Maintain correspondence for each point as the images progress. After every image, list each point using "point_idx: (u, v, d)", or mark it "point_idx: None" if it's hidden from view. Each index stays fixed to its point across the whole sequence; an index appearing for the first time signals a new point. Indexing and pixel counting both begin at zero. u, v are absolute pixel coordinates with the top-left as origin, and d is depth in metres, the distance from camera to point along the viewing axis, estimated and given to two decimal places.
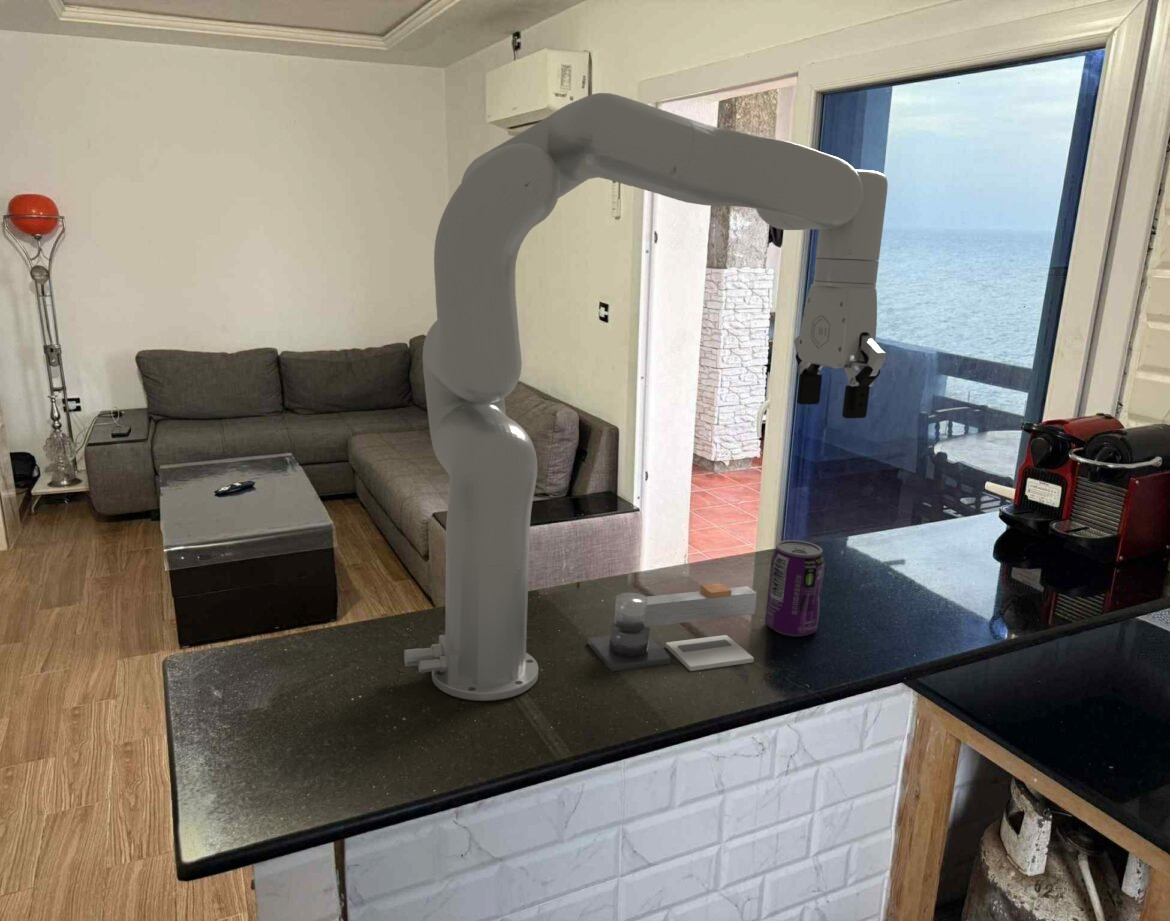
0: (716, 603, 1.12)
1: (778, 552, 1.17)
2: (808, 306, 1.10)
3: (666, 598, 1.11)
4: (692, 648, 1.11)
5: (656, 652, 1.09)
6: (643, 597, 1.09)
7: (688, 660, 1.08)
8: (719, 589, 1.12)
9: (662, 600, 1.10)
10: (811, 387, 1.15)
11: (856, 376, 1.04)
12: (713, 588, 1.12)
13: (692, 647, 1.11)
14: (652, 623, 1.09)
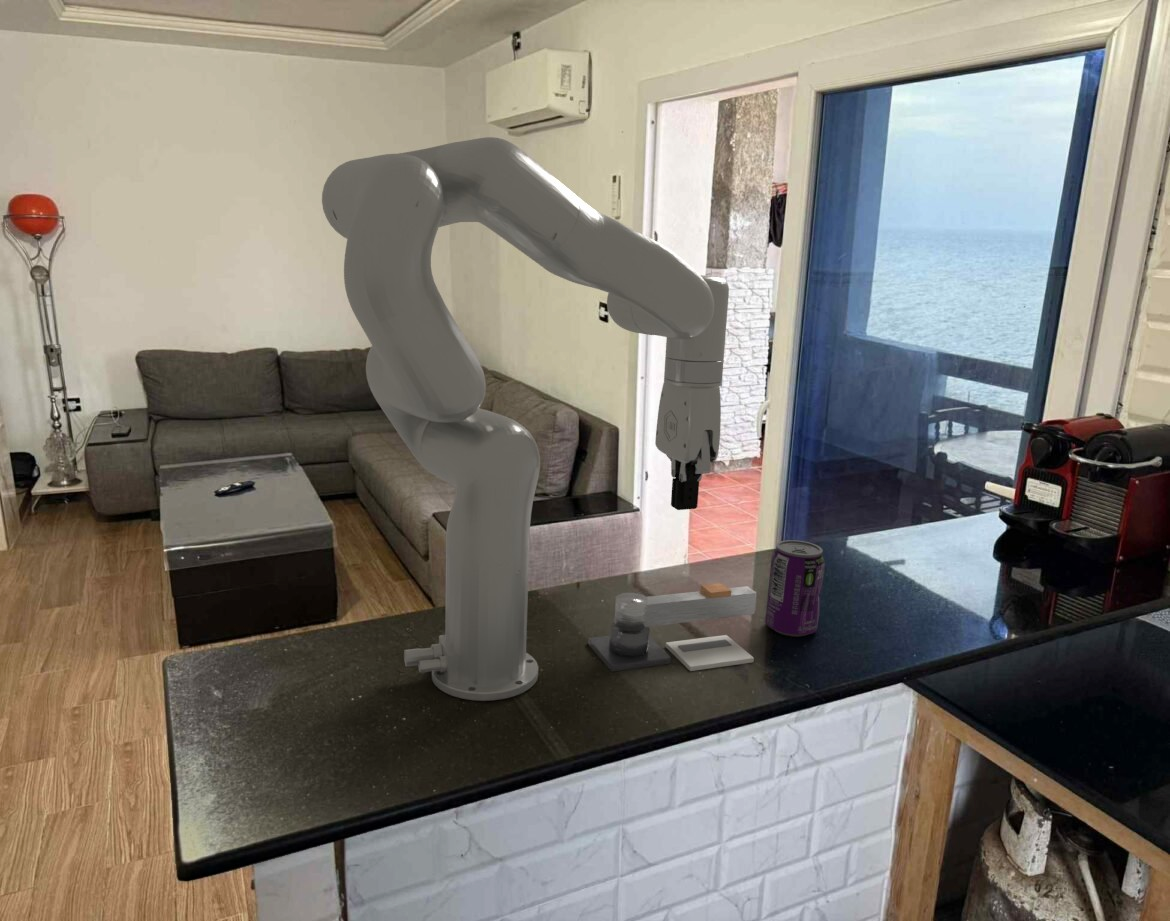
0: (716, 603, 1.12)
1: (778, 552, 1.17)
2: (662, 400, 1.15)
3: (666, 598, 1.11)
4: (692, 648, 1.11)
5: (656, 652, 1.09)
6: (643, 597, 1.09)
7: (688, 660, 1.08)
8: (719, 589, 1.12)
9: (662, 600, 1.10)
10: None
11: (684, 477, 1.13)
12: (713, 588, 1.12)
13: (692, 647, 1.11)
14: (652, 623, 1.09)
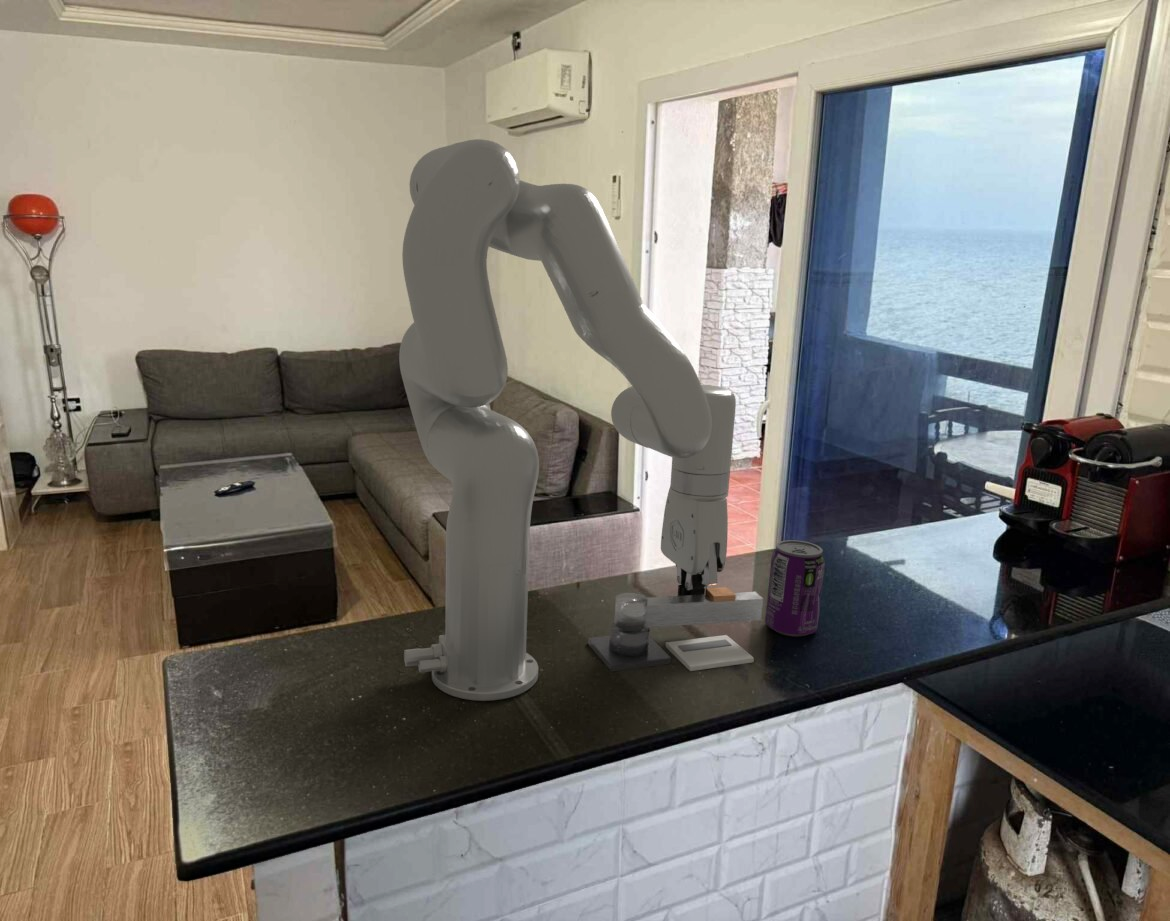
0: (720, 607, 1.11)
1: (778, 552, 1.17)
2: (667, 506, 1.15)
3: (668, 599, 1.10)
4: (692, 648, 1.11)
5: (656, 652, 1.09)
6: (644, 598, 1.09)
7: (688, 660, 1.08)
8: (723, 593, 1.11)
9: (663, 601, 1.09)
10: None
11: (691, 585, 1.13)
12: (717, 592, 1.11)
13: (692, 647, 1.11)
14: (652, 624, 1.09)
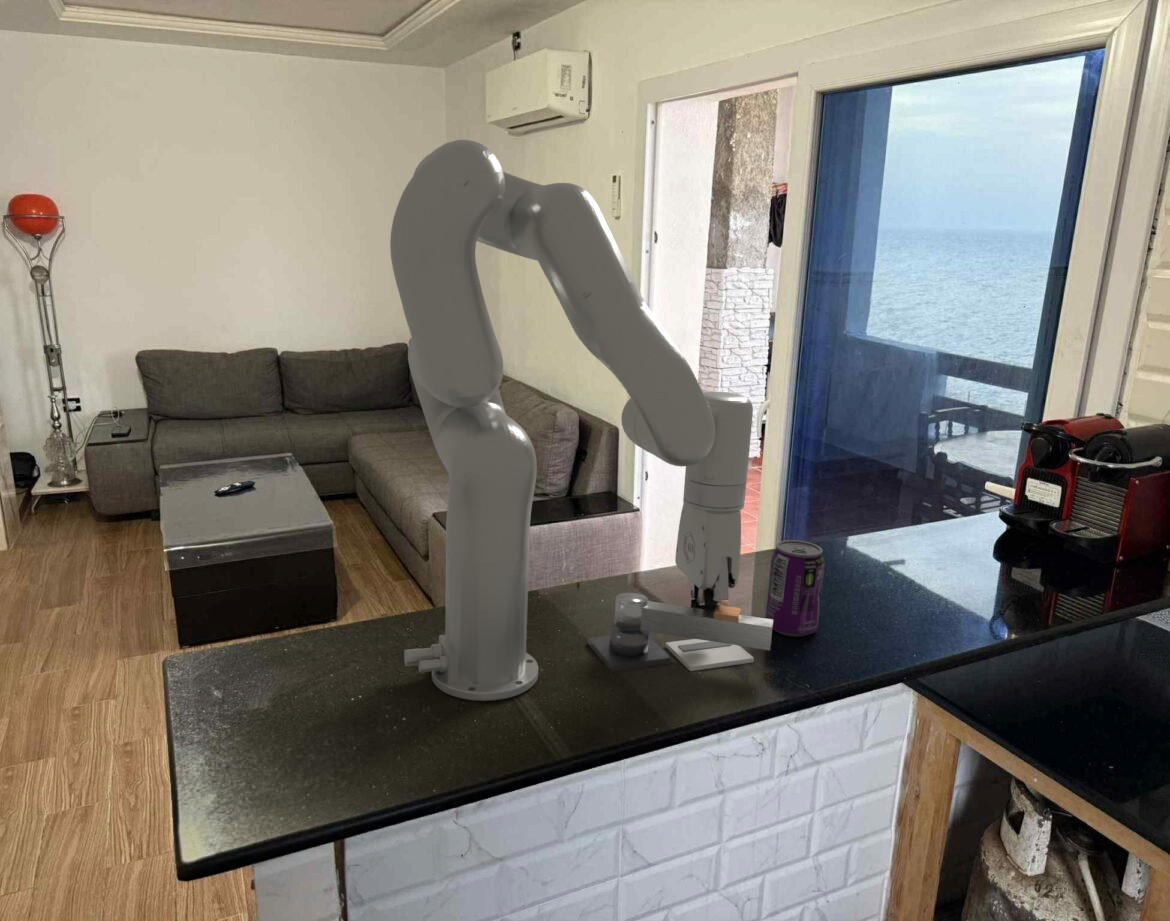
0: (722, 626, 1.05)
1: (778, 552, 1.17)
2: (682, 517, 1.10)
3: (670, 607, 1.08)
4: (692, 648, 1.11)
5: (656, 652, 1.09)
6: (644, 600, 1.08)
7: (688, 660, 1.08)
8: (726, 613, 1.05)
9: (663, 608, 1.07)
10: None
11: (702, 601, 1.08)
12: (722, 610, 1.05)
13: (692, 647, 1.11)
14: (648, 628, 1.08)
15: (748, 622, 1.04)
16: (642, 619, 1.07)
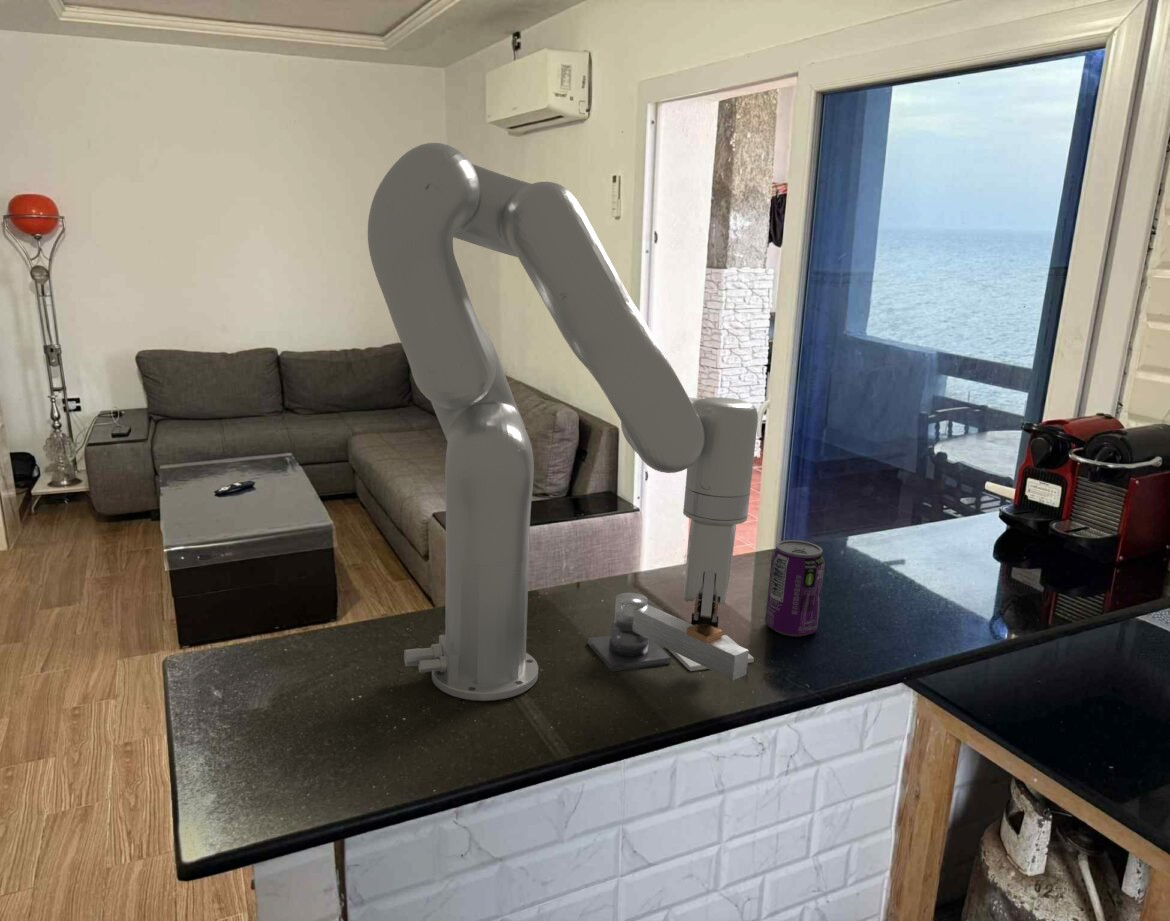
0: (694, 643, 1.00)
1: (778, 552, 1.17)
2: None
3: (660, 615, 1.05)
4: None
5: (656, 652, 1.09)
6: (640, 602, 1.07)
7: (688, 660, 1.08)
8: (700, 630, 0.99)
9: (653, 613, 1.06)
10: None
11: (695, 615, 1.03)
12: (699, 628, 1.00)
13: None
14: (637, 631, 1.07)
15: (717, 645, 0.98)
16: (633, 620, 1.07)
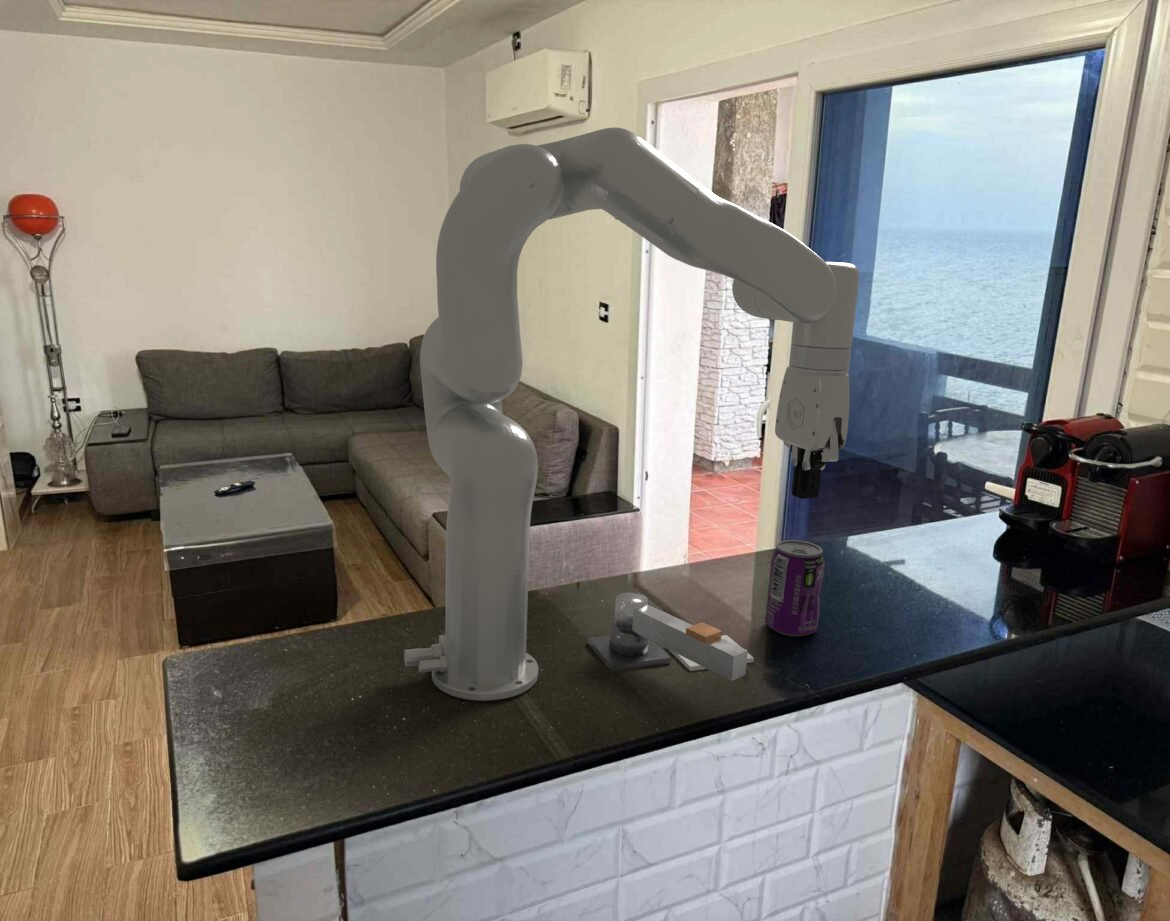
0: (693, 643, 1.00)
1: (778, 552, 1.17)
2: (784, 388, 1.14)
3: (660, 615, 1.05)
4: None
5: (656, 652, 1.09)
6: (640, 602, 1.07)
7: (688, 660, 1.08)
8: (699, 631, 0.99)
9: (652, 614, 1.05)
10: None
11: (809, 465, 1.12)
12: (698, 628, 1.00)
13: None
14: (637, 631, 1.07)
15: (716, 645, 0.98)
16: (633, 620, 1.07)
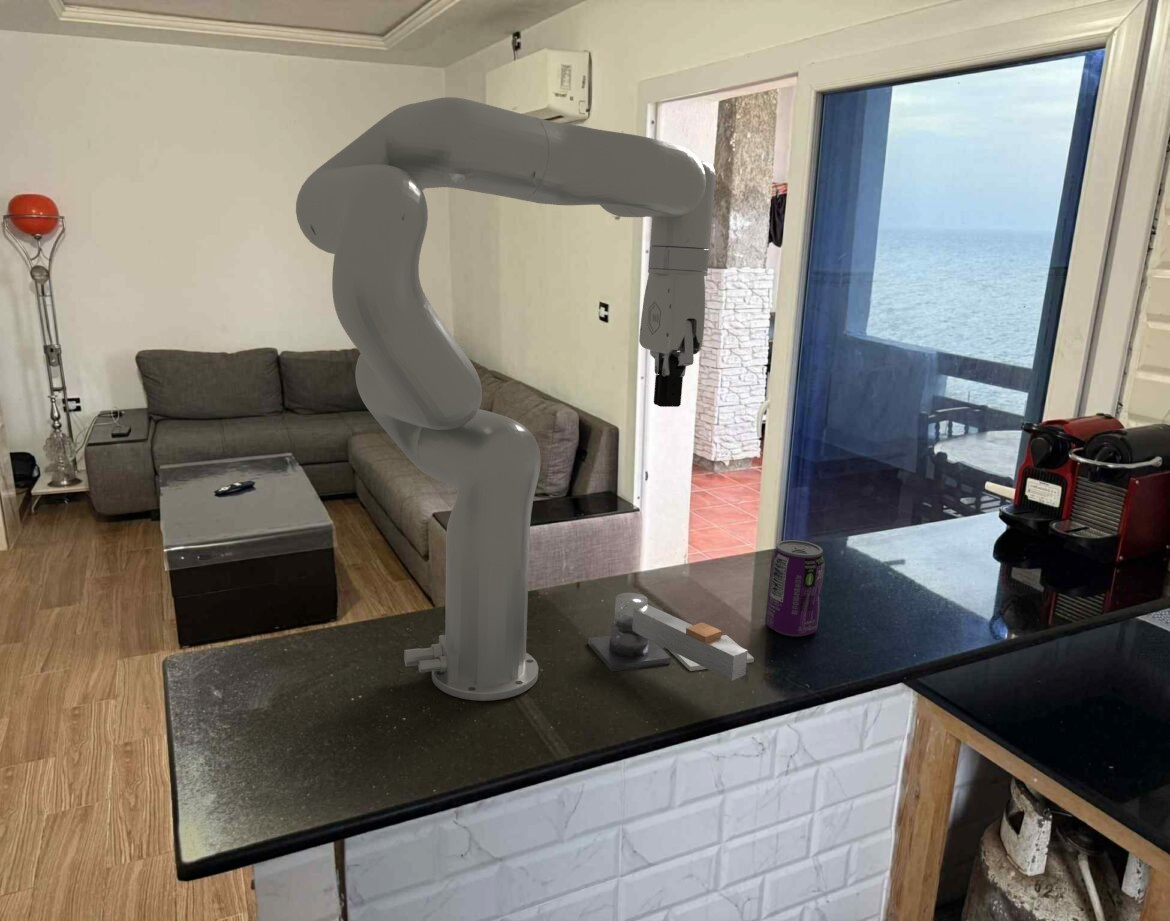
0: (693, 643, 1.00)
1: (778, 552, 1.17)
2: (646, 294, 1.13)
3: (660, 615, 1.05)
4: None
5: (656, 652, 1.09)
6: (640, 602, 1.07)
7: (688, 660, 1.08)
8: (699, 631, 0.99)
9: (652, 614, 1.05)
10: None
11: (667, 370, 1.11)
12: (698, 628, 1.00)
13: None
14: (637, 631, 1.07)
15: (716, 645, 0.98)
16: (633, 620, 1.07)
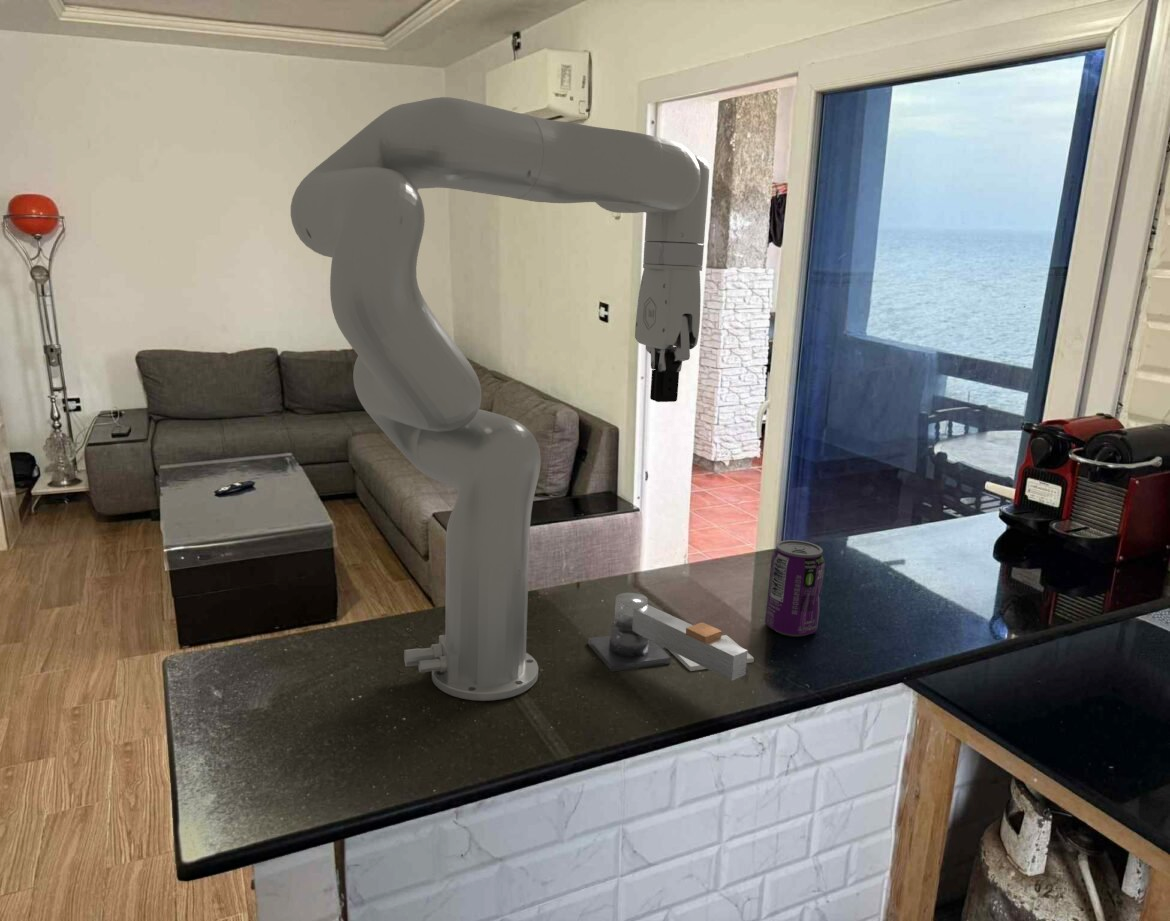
0: (693, 643, 1.00)
1: (778, 552, 1.17)
2: (641, 289, 1.13)
3: (660, 615, 1.05)
4: None
5: (656, 652, 1.09)
6: (640, 602, 1.07)
7: (688, 660, 1.08)
8: (699, 631, 0.99)
9: (652, 614, 1.05)
10: None
11: (664, 366, 1.11)
12: (698, 628, 1.00)
13: None
14: (637, 631, 1.07)
15: (716, 645, 0.98)
16: (633, 620, 1.07)
